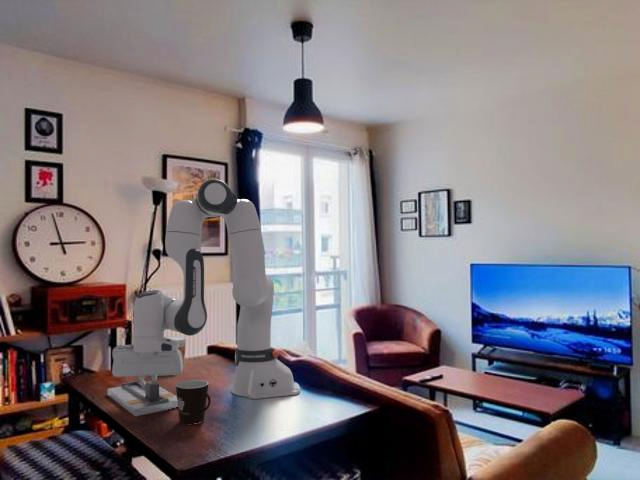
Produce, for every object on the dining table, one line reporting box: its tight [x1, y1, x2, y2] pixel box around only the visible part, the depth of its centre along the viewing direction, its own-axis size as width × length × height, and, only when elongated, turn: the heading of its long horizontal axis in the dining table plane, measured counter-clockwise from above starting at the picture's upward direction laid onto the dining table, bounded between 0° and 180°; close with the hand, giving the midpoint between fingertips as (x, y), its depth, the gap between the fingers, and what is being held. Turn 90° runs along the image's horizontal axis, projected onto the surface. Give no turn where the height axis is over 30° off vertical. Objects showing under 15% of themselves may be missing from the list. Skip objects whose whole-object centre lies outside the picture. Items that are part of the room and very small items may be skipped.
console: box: [107, 380, 178, 417], centre depth 151 cm, size 26×14×3 cm, turn 39°
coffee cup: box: [166, 336, 187, 370], centre depth 191 cm, size 9×9×12 cm
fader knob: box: [145, 381, 160, 401], centre depth 146 cm, size 4×3×4 cm
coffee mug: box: [175, 379, 211, 424], centre depth 132 cm, size 12×9×10 cm
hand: (147, 390), depth 149 cm, fingers closed
